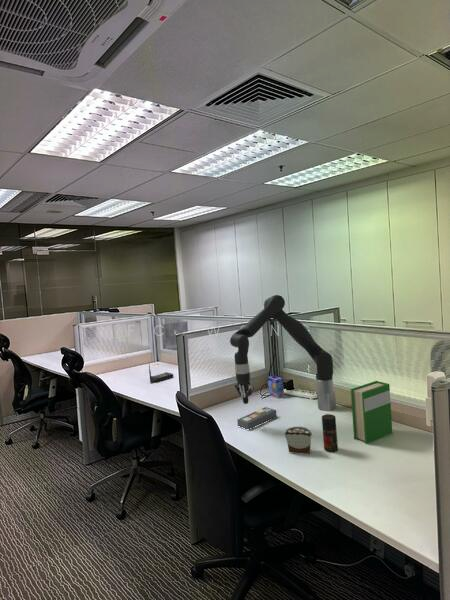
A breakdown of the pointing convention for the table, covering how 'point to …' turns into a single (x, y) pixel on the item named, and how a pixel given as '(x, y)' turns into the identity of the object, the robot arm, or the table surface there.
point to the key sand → (260, 412)
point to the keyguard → (256, 419)
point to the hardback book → (371, 411)
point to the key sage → (247, 419)
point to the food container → (298, 439)
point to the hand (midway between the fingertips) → (245, 403)
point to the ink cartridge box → (275, 386)
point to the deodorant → (329, 433)
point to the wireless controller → (160, 377)
